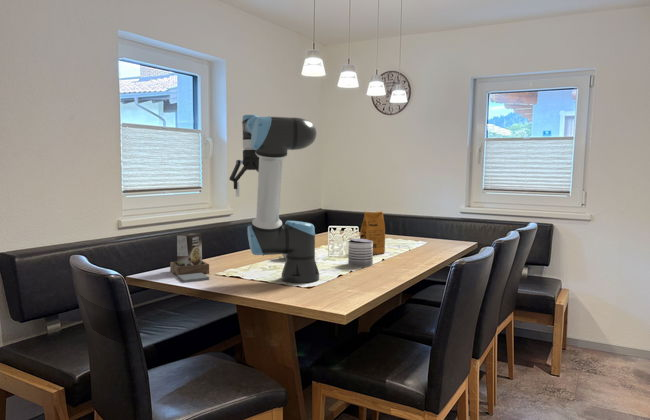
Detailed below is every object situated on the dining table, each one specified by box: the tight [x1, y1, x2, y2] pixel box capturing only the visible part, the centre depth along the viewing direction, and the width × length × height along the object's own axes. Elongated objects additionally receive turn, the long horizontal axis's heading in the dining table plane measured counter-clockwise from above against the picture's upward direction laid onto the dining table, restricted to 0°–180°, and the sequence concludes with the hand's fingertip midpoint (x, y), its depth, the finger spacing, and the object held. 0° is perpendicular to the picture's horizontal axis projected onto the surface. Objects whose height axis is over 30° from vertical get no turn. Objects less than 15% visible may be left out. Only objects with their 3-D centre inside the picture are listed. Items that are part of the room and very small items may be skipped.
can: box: [347, 237, 374, 268], centre depth 225 cm, size 11×11×12 cm
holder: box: [169, 260, 210, 277], centre depth 207 cm, size 13×13×4 cm
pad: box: [176, 273, 210, 283], centre depth 196 cm, size 10×10×1 cm
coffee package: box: [359, 211, 386, 255], centre depth 255 cm, size 10×12×22 cm
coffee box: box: [176, 232, 203, 267], centre depth 207 cm, size 9×6×16 cm
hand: (251, 196), depth 223 cm, fingers open, 13 cm apart
